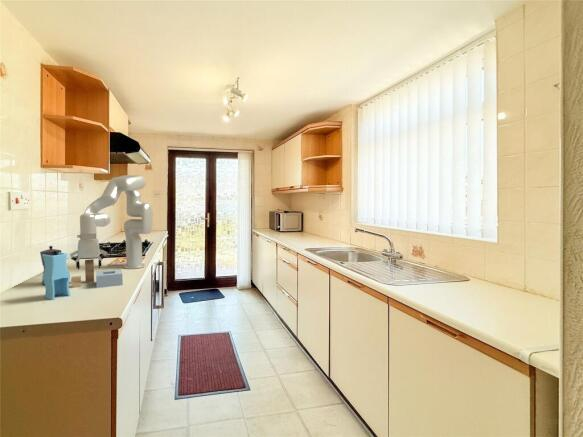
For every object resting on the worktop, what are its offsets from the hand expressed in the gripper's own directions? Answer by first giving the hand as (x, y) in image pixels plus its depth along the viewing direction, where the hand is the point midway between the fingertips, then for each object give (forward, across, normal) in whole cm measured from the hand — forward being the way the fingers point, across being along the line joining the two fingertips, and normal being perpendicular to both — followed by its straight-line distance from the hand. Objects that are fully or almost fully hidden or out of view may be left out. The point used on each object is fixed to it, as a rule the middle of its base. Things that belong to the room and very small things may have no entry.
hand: (89, 268), depth 185 cm
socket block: (+8, +9, -9) cm, 15 cm away
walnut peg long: (+8, 0, 0) cm, 8 cm away
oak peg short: (+8, -6, -7) cm, 12 cm away
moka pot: (+8, -17, +6) cm, 20 cm away
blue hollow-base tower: (+8, -13, -23) cm, 27 cm away
